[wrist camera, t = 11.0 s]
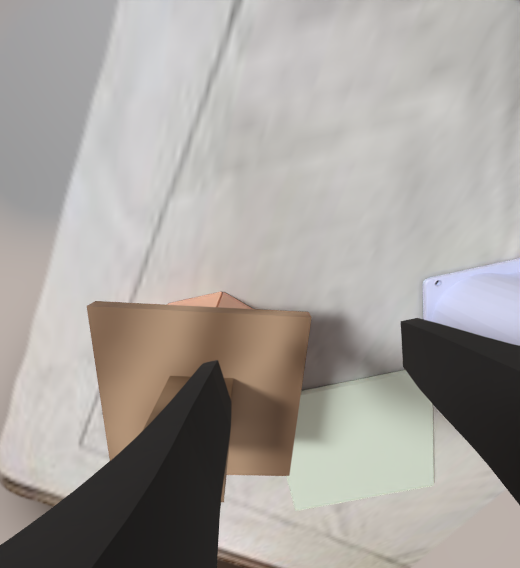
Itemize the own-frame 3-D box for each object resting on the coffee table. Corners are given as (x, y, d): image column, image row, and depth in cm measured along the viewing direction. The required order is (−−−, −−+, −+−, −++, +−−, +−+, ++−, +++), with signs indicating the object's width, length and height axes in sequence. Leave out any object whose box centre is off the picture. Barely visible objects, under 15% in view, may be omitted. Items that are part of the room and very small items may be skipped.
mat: (428, 365, 22) (432, 368, 22) (430, 480, 26) (433, 485, 26) (266, 397, 23) (266, 402, 22) (294, 505, 27) (295, 511, 27)
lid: (308, 311, 15) (336, 362, 10) (287, 465, 19) (300, 557, 14) (95, 301, 15) (12, 349, 10) (117, 461, 18) (66, 557, 13)
